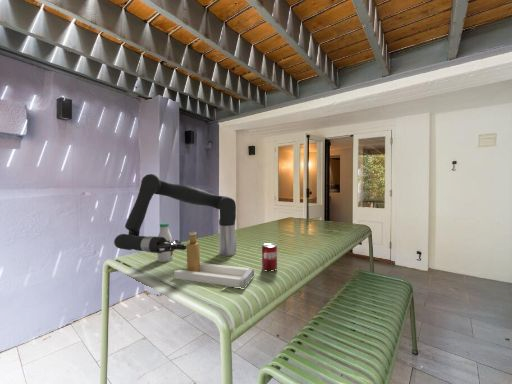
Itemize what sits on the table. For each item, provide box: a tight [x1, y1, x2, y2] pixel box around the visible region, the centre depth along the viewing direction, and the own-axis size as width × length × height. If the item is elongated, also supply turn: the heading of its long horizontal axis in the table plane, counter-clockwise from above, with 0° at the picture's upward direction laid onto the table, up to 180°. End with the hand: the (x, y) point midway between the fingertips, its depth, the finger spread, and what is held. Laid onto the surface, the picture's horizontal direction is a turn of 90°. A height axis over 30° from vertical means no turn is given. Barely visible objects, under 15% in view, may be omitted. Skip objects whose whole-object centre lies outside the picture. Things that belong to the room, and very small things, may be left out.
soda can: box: [261, 242, 278, 271], centre depth 115 cm, size 7×7×12 cm
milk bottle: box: [156, 222, 174, 263], centre depth 129 cm, size 8×8×20 cm
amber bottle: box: [186, 231, 201, 272], centre depth 108 cm, size 6×6×19 cm
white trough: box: [173, 262, 255, 289], centre depth 105 cm, size 32×13×4 cm, turn 73°
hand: (185, 247), depth 109 cm, fingers closed
